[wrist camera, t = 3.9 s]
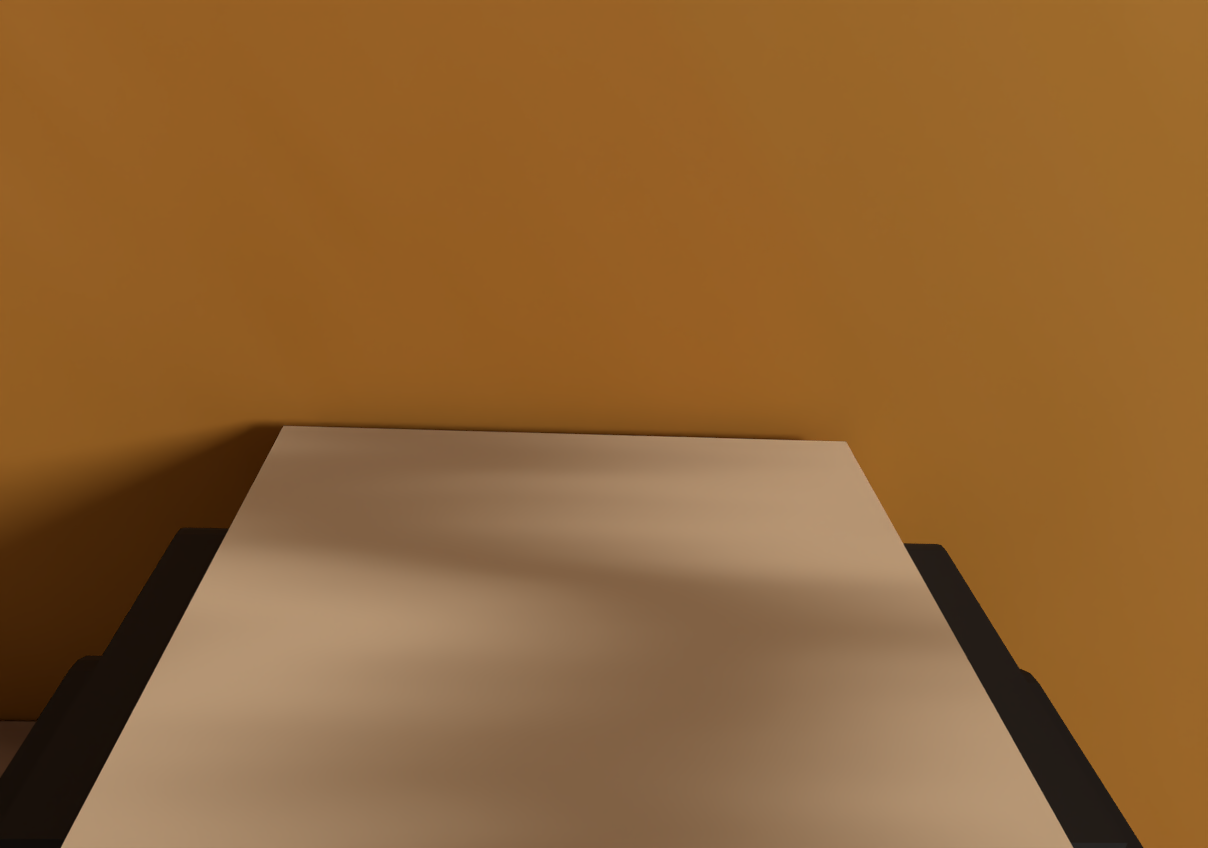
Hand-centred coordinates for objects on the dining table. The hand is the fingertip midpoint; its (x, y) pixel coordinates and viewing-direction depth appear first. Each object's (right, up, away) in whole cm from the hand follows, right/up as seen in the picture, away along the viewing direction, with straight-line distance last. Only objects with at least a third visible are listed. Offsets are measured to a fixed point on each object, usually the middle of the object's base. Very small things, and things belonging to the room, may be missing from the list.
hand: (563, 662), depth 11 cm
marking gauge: (0, -4, +4) cm, 6 cm away
